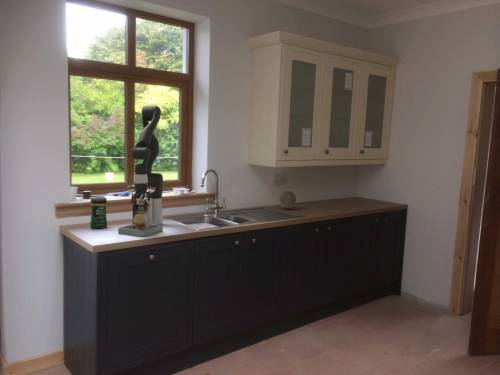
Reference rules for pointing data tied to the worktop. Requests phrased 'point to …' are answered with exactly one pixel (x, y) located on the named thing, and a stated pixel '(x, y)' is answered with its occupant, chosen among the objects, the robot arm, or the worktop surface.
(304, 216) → the worktop surface
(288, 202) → the cantaloupe
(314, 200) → the worktop surface
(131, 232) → the tray
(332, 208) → the worktop surface
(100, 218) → the coffee jar
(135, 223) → the coffee box
